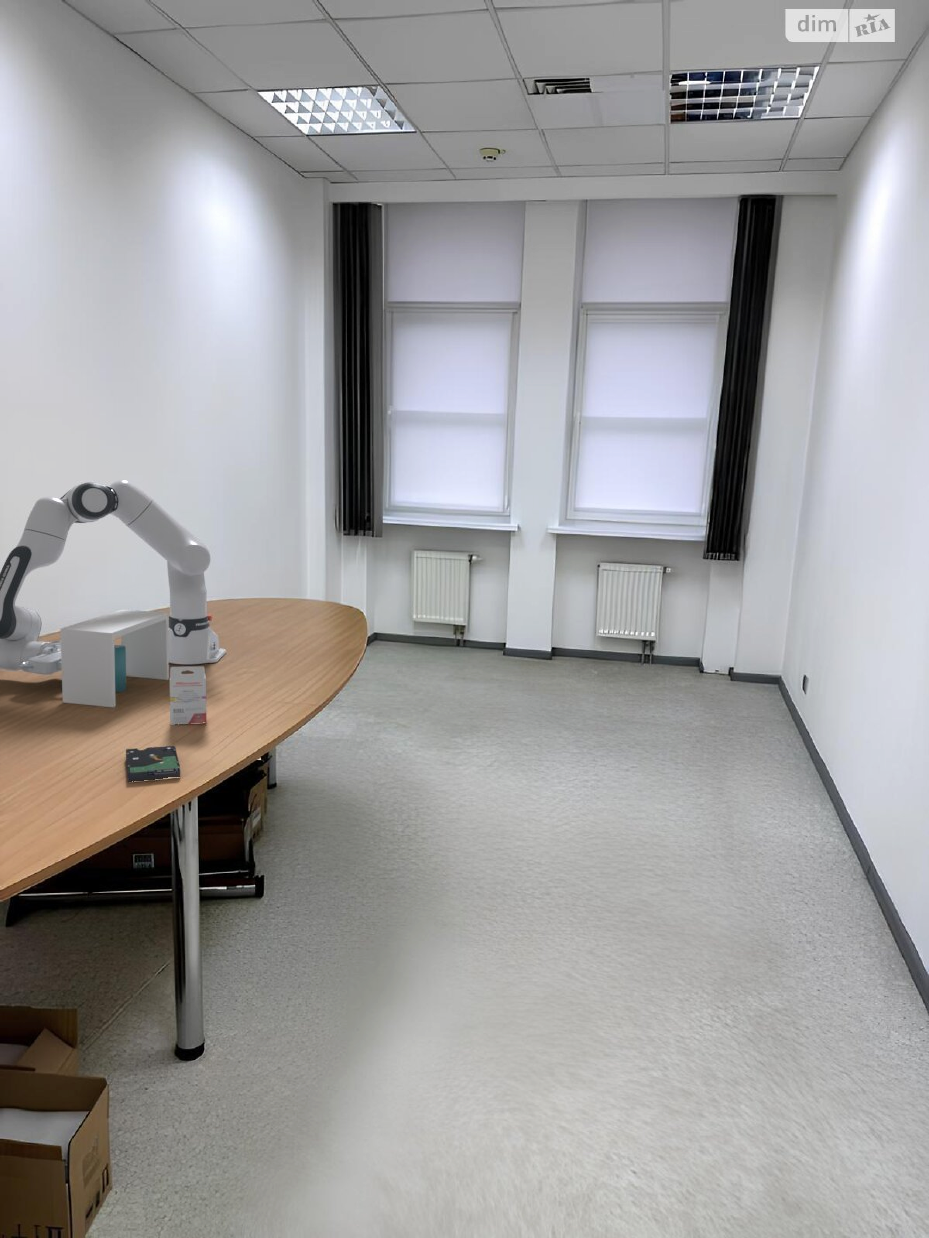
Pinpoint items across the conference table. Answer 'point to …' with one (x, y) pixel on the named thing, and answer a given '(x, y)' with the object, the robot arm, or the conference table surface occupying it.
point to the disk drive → (152, 763)
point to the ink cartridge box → (187, 695)
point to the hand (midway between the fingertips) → (87, 662)
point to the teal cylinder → (120, 668)
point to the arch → (112, 654)
